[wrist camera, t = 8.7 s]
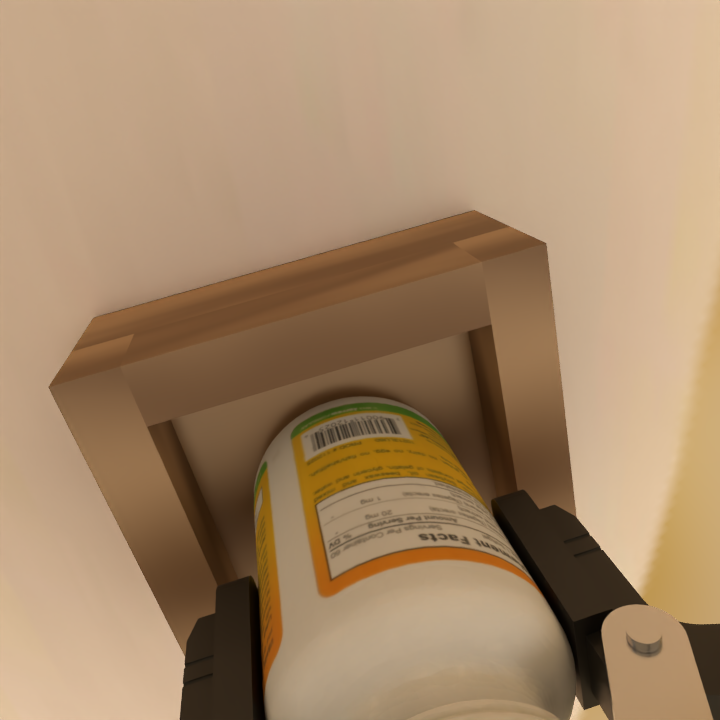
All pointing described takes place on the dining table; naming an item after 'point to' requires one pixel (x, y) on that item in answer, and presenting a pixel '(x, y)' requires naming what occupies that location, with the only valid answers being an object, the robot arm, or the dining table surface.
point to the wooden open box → (314, 387)
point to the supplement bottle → (394, 580)
